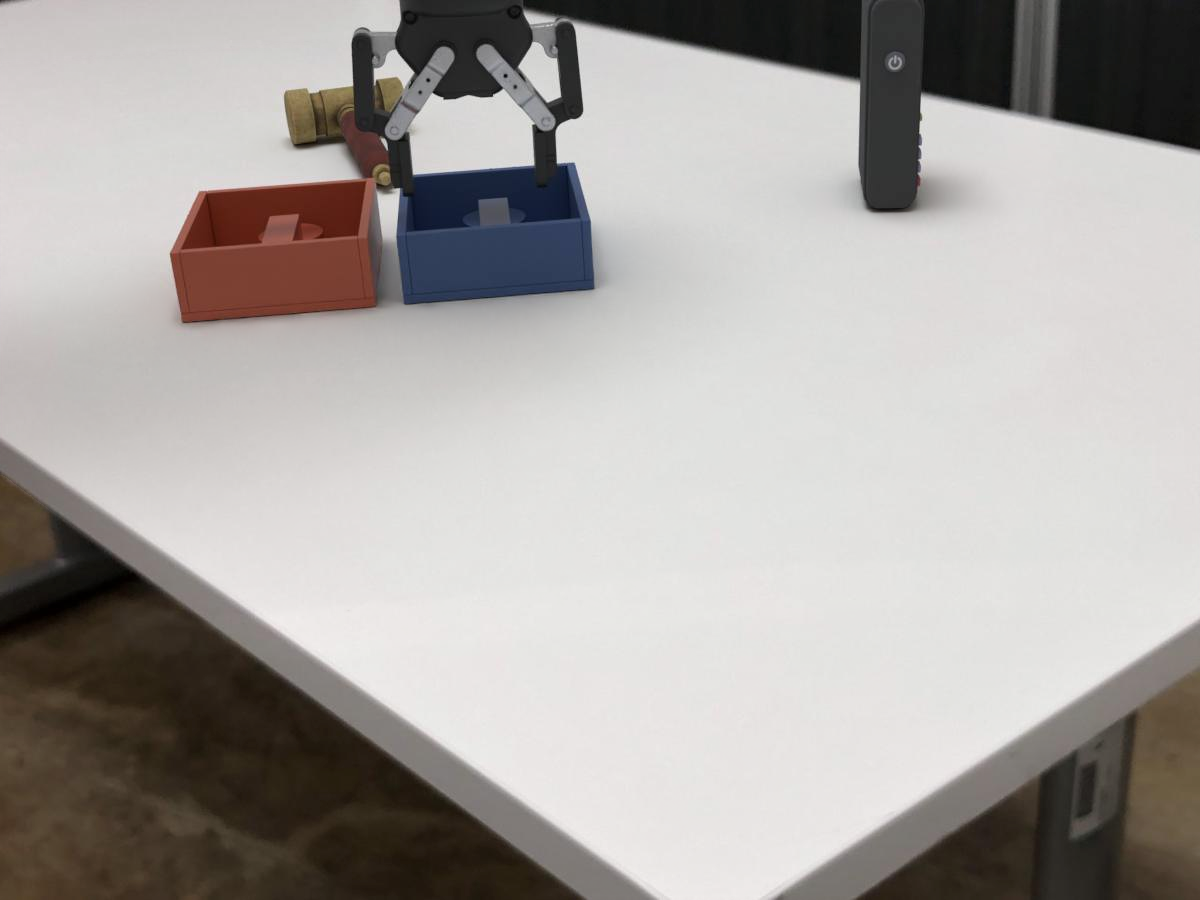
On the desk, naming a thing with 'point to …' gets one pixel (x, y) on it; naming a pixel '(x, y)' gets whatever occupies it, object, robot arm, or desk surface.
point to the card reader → (890, 101)
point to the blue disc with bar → (493, 214)
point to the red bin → (278, 251)
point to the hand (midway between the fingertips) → (474, 189)
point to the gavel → (342, 122)
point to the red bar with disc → (289, 230)
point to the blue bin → (493, 236)
